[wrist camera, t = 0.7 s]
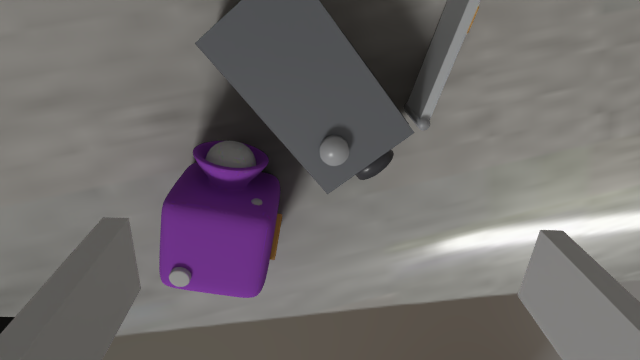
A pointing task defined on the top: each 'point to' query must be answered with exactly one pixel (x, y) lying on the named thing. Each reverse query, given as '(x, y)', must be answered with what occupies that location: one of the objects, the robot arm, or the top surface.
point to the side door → (440, 59)
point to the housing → (307, 87)
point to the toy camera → (221, 222)
